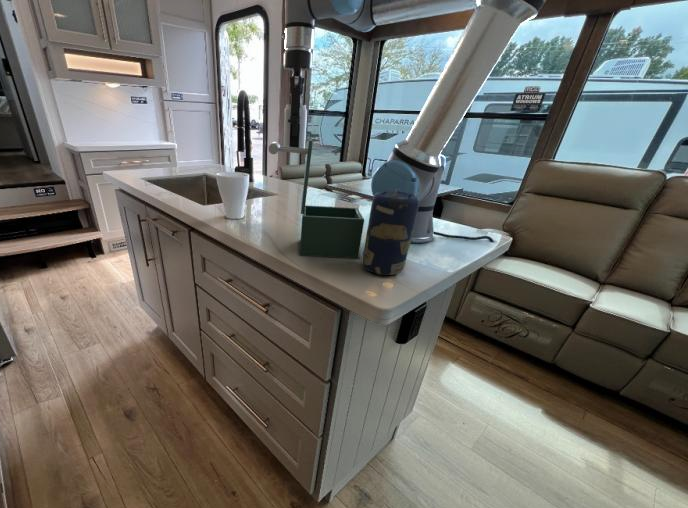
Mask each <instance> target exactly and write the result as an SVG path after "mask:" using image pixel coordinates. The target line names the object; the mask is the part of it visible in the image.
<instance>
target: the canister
mask: <svg viewBox="0 0 688 508" xmlns="http://www.w3.org/2000/svg"><path fill="white" fill-rule="evenodd" d="M418 207H419V198H418V197H417V196H415V195H413V194H409V193H405V192H400V190H399V189H397V190H396V191H381V192H377V193H376V194H375V195H374V196H373V195H372V201H371V206H370V211H369V218H368V224H367V230H366V235H365V240H364V246H363V252H362V259H361V260H362V261H361V264H362V266H363V268H364V269H366V270H367V271H369V272H370V273H373V274H377V275H381V276H383V275H384V276H393V275H394V276H395V275H398V274H400V273H401V272H403V270H404V268H405V265H406V261H407V257H408V253H409V250H410V245H411V244H412V243H411V237H412V233H413V228H414V224H415V220H416V216H417V211H418Z"/></svg>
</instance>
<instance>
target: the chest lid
mask: <svg viewBox="0 0 688 508" xmlns="http://www.w3.org/2000/svg"><path fill="white" fill-rule="evenodd" d="M307 141H308V142H307V148H306V147H305V148H296V147H286V146H284V145H281V144H280V143H279V142H278V141H273V142H272V143H270V144H269V146H268V152H269V153H270V155H276V154H277V153H278V152H283V153H293V154H301V155H306V159H305V168H304V177H303V185H302V192H301V204H300V214H301V215H302V214H304V212H305V205H306V203H307V194H308V188H309V187H308V185H309V178H310V168H311V159H312V153H313V143H314V140H313V138H312V137H309V138H308V140H307Z"/></svg>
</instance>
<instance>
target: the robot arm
mask: <svg viewBox="0 0 688 508" xmlns="http://www.w3.org/2000/svg"><path fill="white" fill-rule="evenodd" d="M546 1H547V0H284V8H285V9H284V11H285V12H284V18H285V20H284V21H285V23H284V33H285V34H282V35H281V38H282V40H284V49H285V51H284V53H283V68H284V69H285V70H287V71H292V75H291V76H290V77H289V86H290V88H289V89H290V90H289V95H290V97H291V99H290V104H291V116H290V119H288V123H290V146H289V147H296V148H299V133H300V123H299V122H300V105H302V98H303V96H304V86H305V77H303V72H308V71H311V70H312V67H313V53H312V51H313V49H314V40H315V39H314V37H315V21H318V20H319V21H320V20H322V19H323V20H325V19H334V20H335V21H338V22H340V23H342V24H345V25H346V26H349V27H350V28H352V29H353V30H355V31H357V32H362V33H367V32H370V31H372V30H373V29H374V28H375V27H376V26H377V27H378V26H381V25H382V26H383V25H388V24H394V23H401V22H407V21H412V20H417V19H418V20H419V19H424V18H430V17H434V16H441V15H447V14H452V13H458V12H464V11H469V10H473V13H472V15H470V18H469V20H468V22H467V24H466V25H465V28H464V30H463V32H462V33H461V35H460V37H459V38H458V41H457V42H456V44H455V46H454V48H453V50H452V52H451V54H450V56H449V58H448V59H447V61H446V63H445V65H444V67H443V68H442V71H441V73H440V74H439V76H438V78H437V80H436V82H435V83H434V86H433V87H432V90H431V91H430V93H429V96H428V97H427V99H426V100H425V102H424V105H422V108H421V110H420V112H419V113H418V116H417V118H416V119H415V121H414V123H413V125H412V127H411V128H410V130H409V132H408V134H407V136H406V138H405V139H403V140H402V141H399V142H397V143H396V144H395V145H394V147H393V149H392V151H391V153H390V155H389V156H388V159H387V160H386V162H383V163H381V165H379V166H378V168H377V169H376V170H375V172H374V173H373V175H372V178H371V184H370V189H371V193H372V197H373V196H374V195H375V194H376V193H377V192H381V191H396V190H397V189H399V190H400V192H405V193H409V194H413V195H415V196H417V197H418V198H419V207H418V211H417V216H416V220H415V224H414V228H413V233H412V237H411V243H410V244H424V243H428V242H432V240H433V237H434V236H438V237H443V238H449V239H459V240H466V241H479V240H488V241H489V242H491V243H494V242H495V241H494V239H493V238H492V237H491V236H489V235H481V236H472V237H471V236H464V235H454V234H447V233H443V232H438V231H434V218H433V217H434V215H433V212H434V208H435V204H436V201H437V197H438V193H439V190H440V187H441V183H442V179H443V176H444V172H445V170H446V163H447V158H446V157H445V155H443V154H441V153H442V152H443V150H444V149H445V147H446V146H447V144H448V142H449V140H450V139H451V137H452V136H453V134H454V133H455V131H456V130H457V127H458V126H459V124H460V123H461V121H462V120H463V118H464V116H465V115H466V113H467V111H468V110H469V109H470V107H471V105H472V104H473V102H474V100H475V99H476V97H477V96H478V94H479V92H480V91H481V89H482V87H483V86H484V84H485V83H486V82H487V79H488V78H489V76H490V75H491V73H492V71H493V70H494V68H495V66H496V65H497V63H498V62H499V60H500V58H501V57H502V55H503V54H504V52H505V50H506V49H507V47H508V46H509V44H510V42H511V41H512V39H513V37H514V36H515V34H516V33H517V31H518V29H519V27H520V26H521V25H523V24H524V23H526V22H528V21H530V20H532V19H534V18H535V17H537V15H538V14H539V12H540V10H541V9H542V7H543V6H544V4H545V3H546Z"/></svg>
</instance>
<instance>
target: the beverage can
mask: <svg viewBox="0 0 688 508" xmlns="http://www.w3.org/2000/svg"><path fill="white" fill-rule="evenodd" d="M285 106H286V107H285V108H284V124H283V125H284V128H283V146H286V147H289V146H290V123H288V119H290V116H291V103H290V104H285ZM307 118H308V109H307V105H306V104H301V105H300V122H299V123H300V133H299V148H305V149H306V138H307V121H308V120H307Z"/></svg>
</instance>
